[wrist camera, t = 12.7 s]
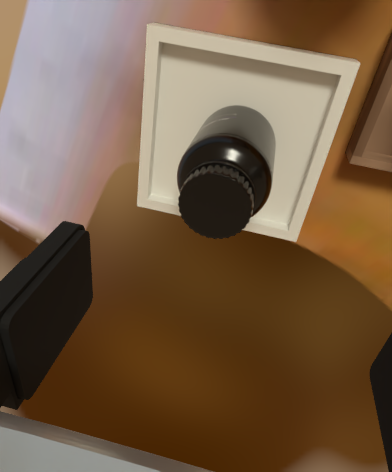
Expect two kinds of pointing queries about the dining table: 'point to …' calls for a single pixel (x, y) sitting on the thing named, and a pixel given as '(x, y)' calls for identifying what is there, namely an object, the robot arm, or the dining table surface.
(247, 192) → the supplement bottle
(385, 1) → the dining table surface
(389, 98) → the holder
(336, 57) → the tray
